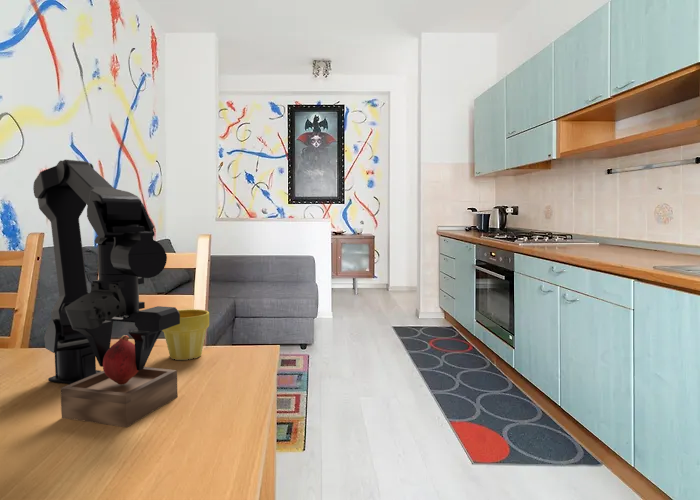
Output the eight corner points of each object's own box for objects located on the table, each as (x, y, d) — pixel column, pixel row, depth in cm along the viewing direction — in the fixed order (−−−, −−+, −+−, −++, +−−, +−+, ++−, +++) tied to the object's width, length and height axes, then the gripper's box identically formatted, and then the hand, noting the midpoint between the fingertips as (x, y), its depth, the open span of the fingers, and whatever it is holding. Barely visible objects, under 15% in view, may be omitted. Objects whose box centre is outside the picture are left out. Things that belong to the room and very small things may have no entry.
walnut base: (61, 417, 70) (60, 388, 70) (119, 389, 82) (118, 364, 81) (126, 427, 67) (125, 396, 67) (177, 396, 79) (176, 370, 78)
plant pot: (172, 349, 108) (171, 308, 107) (216, 349, 107) (215, 308, 107) (152, 362, 97) (151, 317, 97) (200, 363, 97) (199, 318, 96)
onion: (124, 390, 71) (126, 338, 71) (93, 388, 72) (95, 337, 72) (149, 381, 76) (150, 333, 77) (119, 379, 78) (120, 332, 78)
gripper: (25, 276, 68) (30, 379, 69) (131, 281, 63) (134, 391, 64) (87, 268, 78) (90, 357, 79) (181, 272, 73) (183, 367, 74)
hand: (121, 367), depth 74 cm, fingers open, 7 cm apart
